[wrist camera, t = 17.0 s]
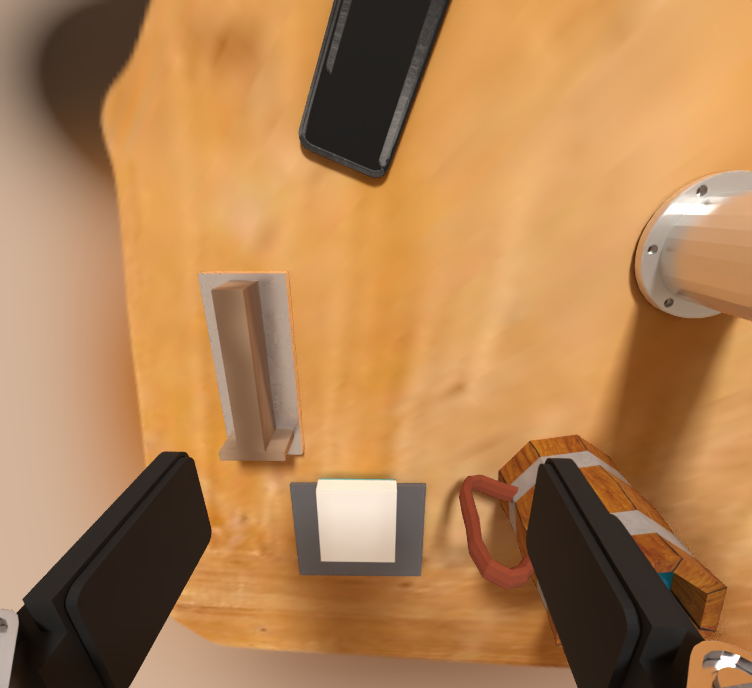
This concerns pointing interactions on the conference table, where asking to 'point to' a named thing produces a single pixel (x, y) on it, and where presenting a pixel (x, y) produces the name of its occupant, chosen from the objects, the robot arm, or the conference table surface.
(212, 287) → the tool rest
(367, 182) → the conference table surface
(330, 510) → the tile
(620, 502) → the mug
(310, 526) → the mat
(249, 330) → the brown t-shaped post
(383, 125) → the phone
